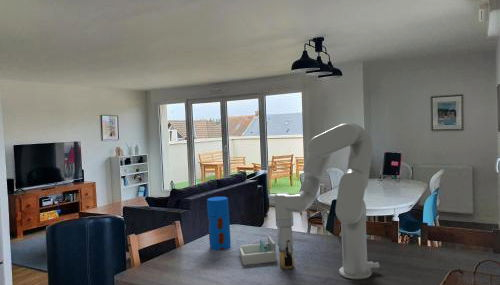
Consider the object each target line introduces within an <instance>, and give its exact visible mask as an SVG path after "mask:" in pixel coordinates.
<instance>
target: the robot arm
mask: <svg viewBox="0 0 500 285" xmlns="http://www.w3.org/2000/svg"><path fill="white" fill-rule="evenodd" d="M347 147H349V153H348V154H349V155H348V158H347V166H346V171H345V172H344V174H342V175H341V178H339V179H340V180H339V183H338V190H337V195H336V196H337V197H336V203H335V215H336V217H337V219H338V221H339V222H340V223H341V224H340V225H341V226H340V227H341V228H340V230H341V251H342V255H341V256H342V266H341V267H340V268H339V271H338V272H339V274H340V276H342V277H343V278H347V279H351V280H365V279H368V278H370V277H371V276H372V274H373V272H372V271H373V270H372V269H375V268H376V269H378V268H380V263H379V262H374V261H373V260H371V261H368V249H367V248H368V247H367V246H368V243H367V206H366V203H365V201H364V197H365V191H366V189H367V188H368V185H369V181H370V180H369V177H370V169H371V162H372V156H373V154H372V153H373V143H372V139H371V137H370V134H369V133H368V131H366V129H365V128H364V127H362V126H361V125H360V124H357V123H355V122H346V123H341V124H339V125H337V126H335V127H333V128H331V129H328V130H326V131H325V132H322V133H320V134H318V135H315V136H313V137H312V138H310V140H309V142H308V145H307V150H308V155H307V157H306V161H305V162H304V165H303V167H302V171H303V174H304V178H303V181H302V184H301V187H300V189H299V191H298V193H295V194H291V193H290V192H278V193H276V194H275V195H274V213H275V226H276V235H277V237H276V242H277V243H276V244H277V246H278V248H279V247H280V249H281V250H282V251H285V257H284V258H285V266H292V265H293V264H292V249H293V250H294V238H293V228H292V227H293V226H294V213H303V212H305V211H306V210H307V209H308V208H310V207H311V206H312V205H313V204H314V203H315V199H316V197H317V194H318V193H319V189H320V187H321V184H322V183H321V182H322V180H323V176H324V173H325V172H326V168H327V166H328V164H329V161H330V158H331V156H332V154H333V153H336V152H338V151H340V150H342V149H344V148H347ZM286 248H288V249H286ZM286 251H288V252H287V253H286Z"/></svg>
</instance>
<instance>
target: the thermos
mask: <svg viewBox="0 0 500 285" xmlns="http://www.w3.org/2000/svg"><path fill="white" fill-rule="evenodd" d="M206 199H207V200H206V205H207V206H206V208H207V221H208V223H207V226H208V237H209V238H208V239H209V240H208V241H209V249H210V250H212V251H224V250H228V249H230V248H231V226H230V225H231V224H230V211H229V210H230V209H229V198H228V196H227V197H226V196H213V197H209V198H206Z"/></svg>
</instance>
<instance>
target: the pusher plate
mask: <svg viewBox="0 0 500 285" xmlns="http://www.w3.org/2000/svg"><path fill="white" fill-rule="evenodd" d="M265 243H266V242H265V241H264V239H259V244H260V250H261V253H263V252H267V246H266V244H265Z"/></svg>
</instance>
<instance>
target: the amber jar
mask: <svg viewBox="0 0 500 285" xmlns="http://www.w3.org/2000/svg"><path fill="white" fill-rule="evenodd" d="M286 249H288V248H286ZM287 252H288V251H286V253H287ZM278 253H279V255H278V256H279V268H281V269H285V270H289V269H292V268H294V267H295V260H294V248H293V249H292V264H293V265H292V266H285V258H284V257H285V251H282V250H281V249H280V247H279V246H278Z"/></svg>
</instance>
